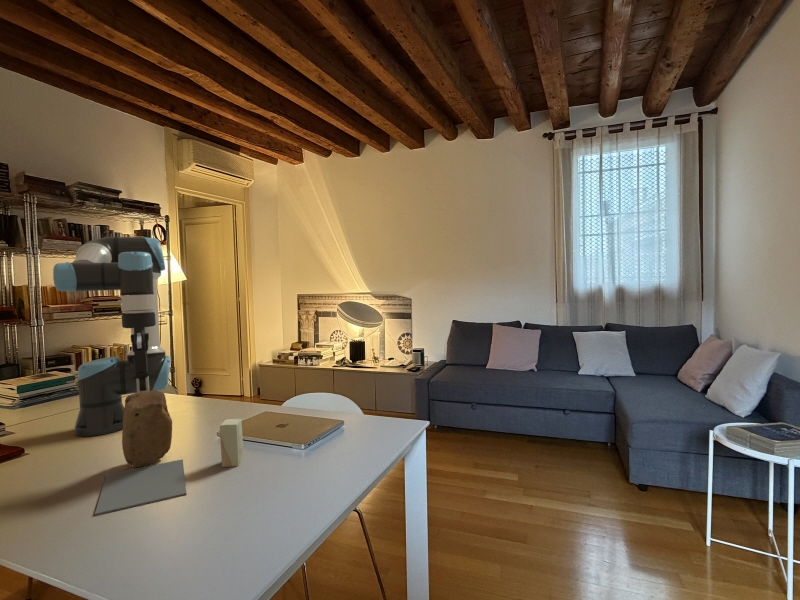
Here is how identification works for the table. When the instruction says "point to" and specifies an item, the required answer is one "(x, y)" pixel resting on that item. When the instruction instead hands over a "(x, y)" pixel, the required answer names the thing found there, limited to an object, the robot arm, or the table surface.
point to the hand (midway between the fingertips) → (143, 402)
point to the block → (146, 428)
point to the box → (231, 442)
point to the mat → (142, 486)
